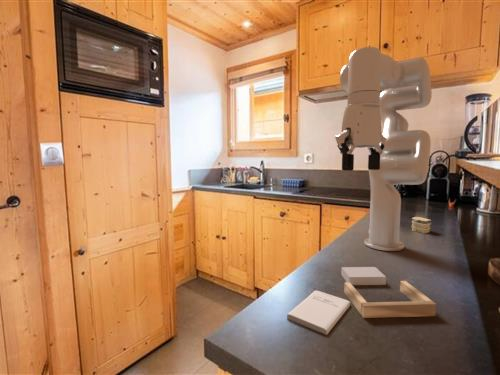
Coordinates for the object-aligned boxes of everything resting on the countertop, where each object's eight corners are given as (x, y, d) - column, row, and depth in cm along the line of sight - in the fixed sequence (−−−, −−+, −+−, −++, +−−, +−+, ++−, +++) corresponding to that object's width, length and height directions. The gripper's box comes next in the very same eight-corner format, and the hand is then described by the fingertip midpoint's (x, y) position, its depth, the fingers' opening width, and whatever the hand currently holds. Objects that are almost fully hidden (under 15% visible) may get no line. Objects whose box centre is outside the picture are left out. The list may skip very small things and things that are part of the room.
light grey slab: (341, 276, 73) (341, 267, 73) (374, 275, 73) (375, 266, 73) (349, 286, 67) (349, 277, 67) (385, 286, 67) (386, 276, 67)
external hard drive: (286, 321, 54) (314, 295, 63) (326, 338, 48) (350, 307, 58) (286, 313, 53) (315, 289, 63) (326, 329, 48) (350, 300, 58)
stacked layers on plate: (438, 233, 112) (439, 220, 112) (425, 236, 108) (426, 222, 108) (415, 227, 121) (415, 215, 121) (401, 230, 117) (402, 217, 117)
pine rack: (344, 292, 63) (344, 282, 63) (404, 290, 64) (405, 280, 63) (363, 317, 53) (363, 305, 53) (435, 316, 54) (436, 304, 53)
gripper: (373, 107, 75) (371, 169, 77) (326, 101, 67) (325, 170, 69) (399, 102, 69) (396, 169, 70) (350, 94, 61) (348, 171, 62)
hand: (361, 170), depth 70 cm, fingers open, 9 cm apart
